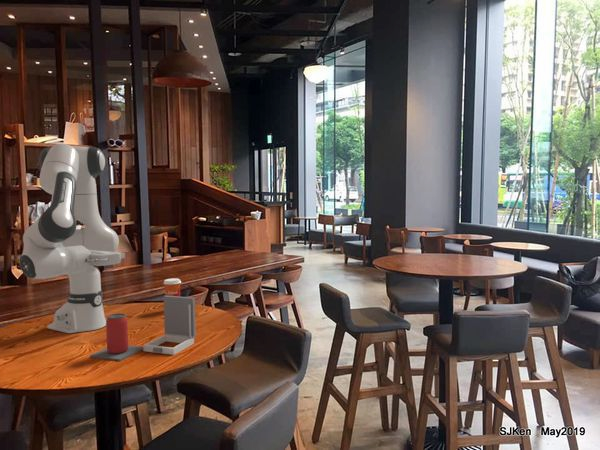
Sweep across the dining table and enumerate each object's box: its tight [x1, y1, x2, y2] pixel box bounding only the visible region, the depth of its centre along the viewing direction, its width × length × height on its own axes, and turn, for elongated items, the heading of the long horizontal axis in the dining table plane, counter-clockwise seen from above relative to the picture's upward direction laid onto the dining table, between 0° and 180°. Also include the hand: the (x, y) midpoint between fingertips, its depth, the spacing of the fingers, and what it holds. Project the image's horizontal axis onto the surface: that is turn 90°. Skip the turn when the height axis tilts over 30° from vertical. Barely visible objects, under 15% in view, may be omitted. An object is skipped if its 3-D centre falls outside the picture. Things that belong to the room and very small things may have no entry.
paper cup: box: [163, 278, 182, 297], centre depth 210 cm, size 8×8×14 cm
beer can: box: [105, 313, 129, 354], centre depth 155 cm, size 7×7×12 cm
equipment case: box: [142, 295, 197, 356], centre depth 160 cm, size 12×14×16 cm
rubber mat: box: [89, 344, 143, 362], centre depth 156 cm, size 12×12×1 cm
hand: (114, 254), depth 161 cm, fingers open, 8 cm apart
